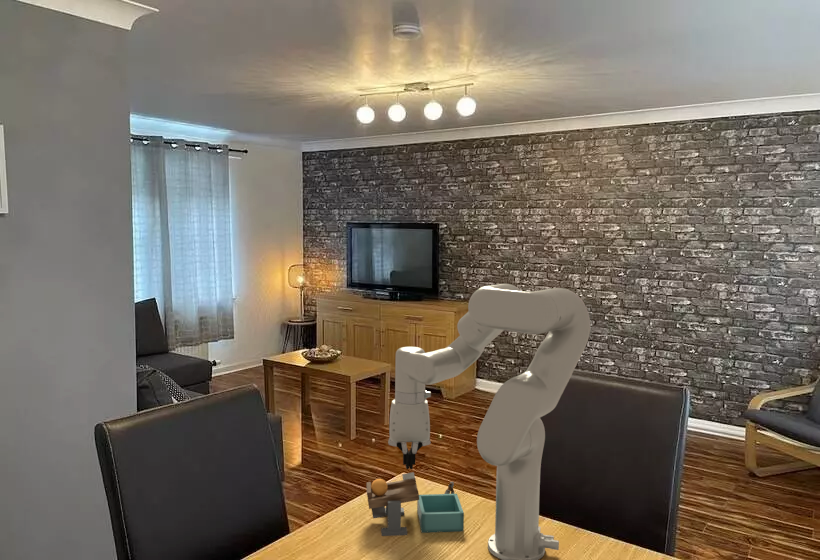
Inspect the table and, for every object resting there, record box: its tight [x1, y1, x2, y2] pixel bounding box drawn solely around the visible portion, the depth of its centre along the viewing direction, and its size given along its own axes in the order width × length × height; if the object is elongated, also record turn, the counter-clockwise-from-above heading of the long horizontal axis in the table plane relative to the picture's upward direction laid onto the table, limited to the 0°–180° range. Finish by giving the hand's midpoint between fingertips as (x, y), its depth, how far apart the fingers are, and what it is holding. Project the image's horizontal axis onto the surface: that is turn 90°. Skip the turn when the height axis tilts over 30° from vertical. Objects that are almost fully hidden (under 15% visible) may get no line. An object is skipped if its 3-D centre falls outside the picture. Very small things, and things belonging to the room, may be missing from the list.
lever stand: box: [380, 501, 408, 537], centre depth 151 cm, size 6×12×8 cm, turn 5°
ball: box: [371, 478, 388, 496], centre depth 150 cm, size 4×4×4 cm
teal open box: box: [416, 493, 465, 534], centre depth 152 cm, size 10×11×4 cm
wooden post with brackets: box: [443, 481, 456, 494], centre depth 163 cm, size 2×8×4 cm, turn 152°
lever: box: [366, 471, 420, 519], centre depth 154 cm, size 12×14×6 cm
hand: (409, 467), depth 158 cm, fingers closed
